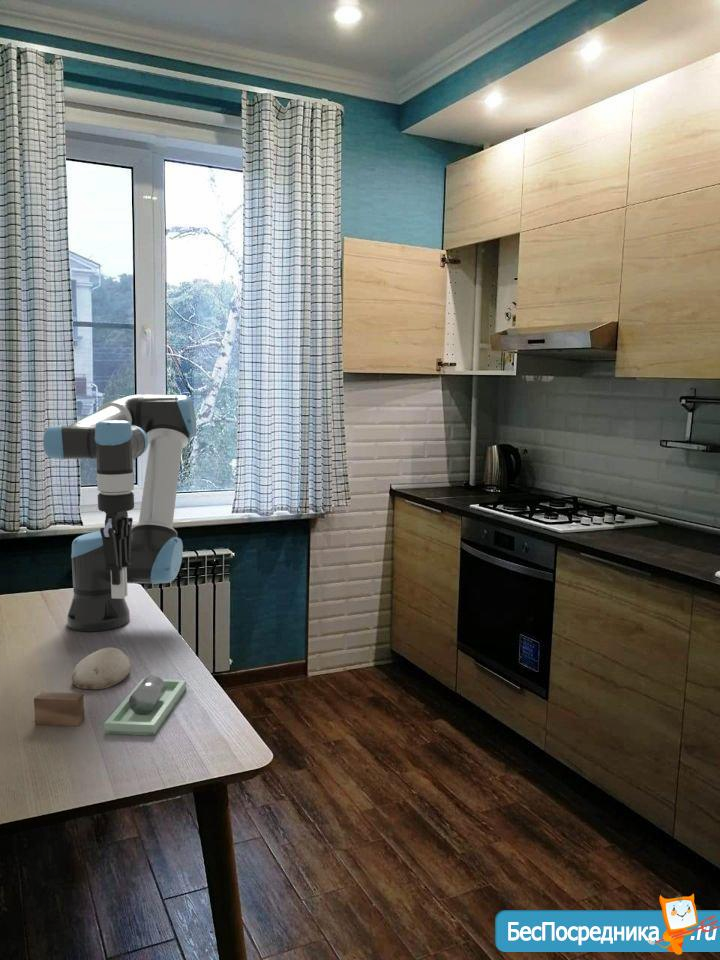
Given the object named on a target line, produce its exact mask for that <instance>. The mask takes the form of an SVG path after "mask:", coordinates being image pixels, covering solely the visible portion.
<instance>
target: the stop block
mask: <svg viewBox="0 0 720 960" xmlns="http://www.w3.org/2000/svg"><path fill="white" fill-rule="evenodd" d="M33 705H34V706H33V707H34V719H35V720H34V722H35V723H34V724H35V725H37V726H38V725H39V726H40V725H41V726H62V727H63V726H64V727H65V726H66V727H79V725H81V724H82V722H83V721H84V720H85V719H86V717H85V715H86V714H85V712H86V711H85V695H84V692H61V691H60V692H58V691H41V692H39V694H38V695H36V696H35V697H34V698H33Z"/></svg>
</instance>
